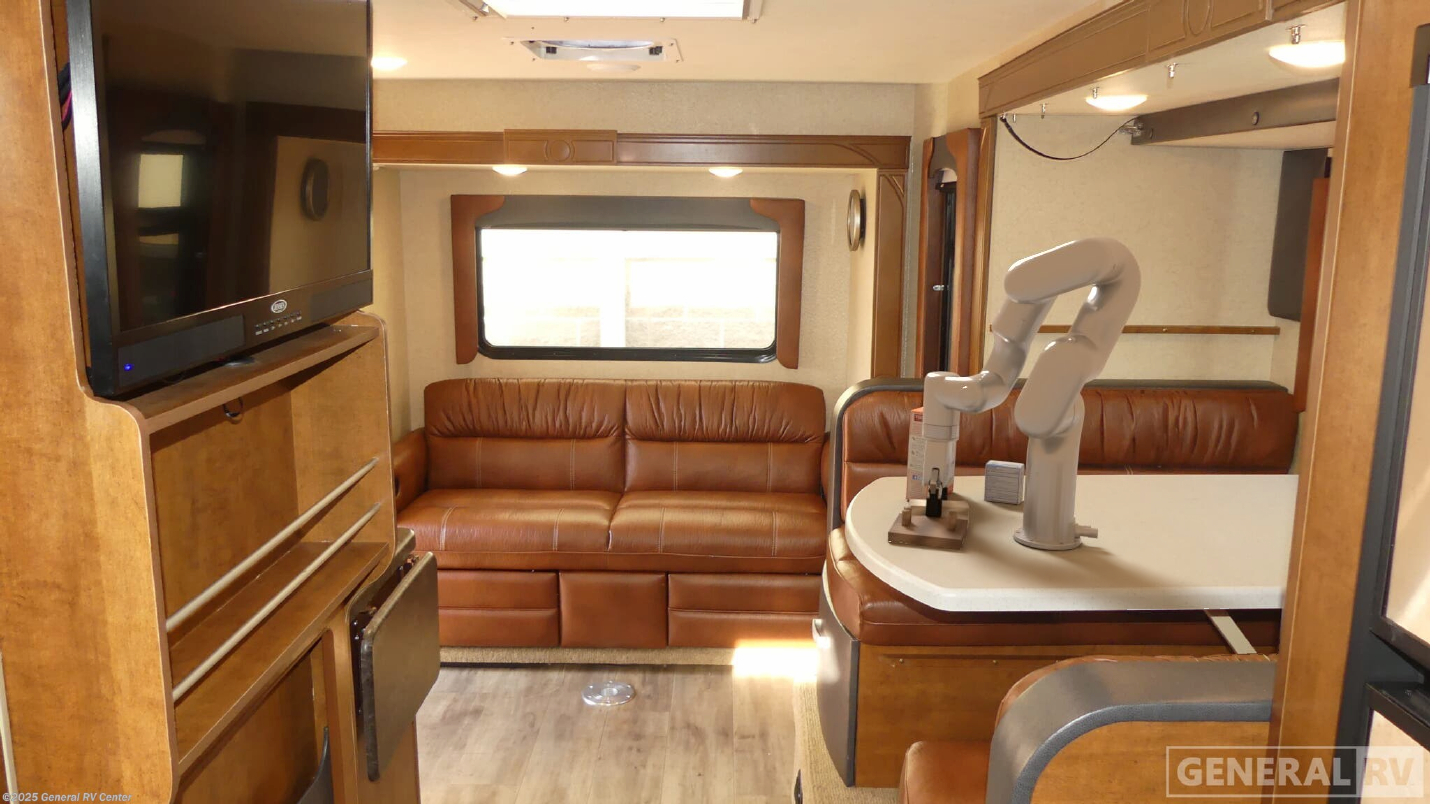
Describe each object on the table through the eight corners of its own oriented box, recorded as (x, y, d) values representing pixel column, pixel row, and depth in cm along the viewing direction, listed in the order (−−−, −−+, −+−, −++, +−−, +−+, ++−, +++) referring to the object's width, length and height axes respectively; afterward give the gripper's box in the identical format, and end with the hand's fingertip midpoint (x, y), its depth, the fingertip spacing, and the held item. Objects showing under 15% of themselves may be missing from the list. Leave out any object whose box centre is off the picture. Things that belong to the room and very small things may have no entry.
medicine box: (1023, 500, 229) (1025, 463, 228) (1019, 505, 226) (1021, 467, 224) (987, 496, 233) (989, 459, 232) (983, 500, 229) (985, 463, 228)
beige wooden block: (965, 519, 215) (966, 501, 215) (968, 526, 210) (969, 507, 210) (908, 517, 217) (909, 499, 216) (909, 523, 212) (910, 505, 211)
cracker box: (929, 505, 225) (933, 412, 222) (904, 500, 229) (908, 409, 225) (955, 492, 236) (959, 404, 233) (931, 488, 240) (935, 401, 236)
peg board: (967, 529, 207) (968, 505, 206) (960, 549, 194) (961, 524, 193) (899, 522, 212) (900, 499, 211) (887, 541, 199) (888, 517, 198)
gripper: (927, 422, 220) (923, 498, 223) (916, 438, 204) (912, 520, 207) (963, 425, 217) (958, 502, 220) (954, 441, 201) (949, 524, 204)
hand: (936, 510), depth 213 cm, fingers open, 9 cm apart
